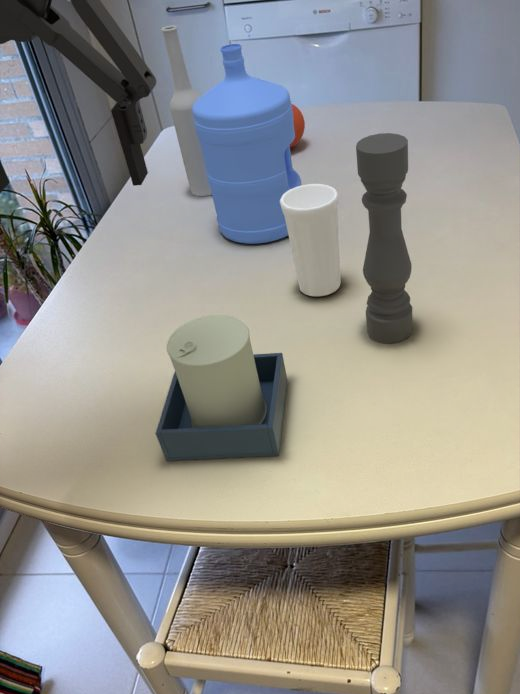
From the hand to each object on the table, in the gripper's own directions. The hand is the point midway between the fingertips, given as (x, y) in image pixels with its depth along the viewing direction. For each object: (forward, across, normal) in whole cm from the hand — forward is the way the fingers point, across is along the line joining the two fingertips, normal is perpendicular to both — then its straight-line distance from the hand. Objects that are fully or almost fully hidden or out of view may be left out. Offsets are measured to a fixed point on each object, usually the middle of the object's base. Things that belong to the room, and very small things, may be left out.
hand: (70, 184), depth 60 cm
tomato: (+30, -10, -82) cm, 88 cm away
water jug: (+30, -9, -48) cm, 57 cm away
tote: (+29, -10, +2) cm, 31 cm away
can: (+29, -10, +2) cm, 31 cm away
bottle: (+30, +4, -65) cm, 72 cm away
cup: (+29, -20, -26) cm, 44 cm away
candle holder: (+29, -30, -14) cm, 44 cm away
